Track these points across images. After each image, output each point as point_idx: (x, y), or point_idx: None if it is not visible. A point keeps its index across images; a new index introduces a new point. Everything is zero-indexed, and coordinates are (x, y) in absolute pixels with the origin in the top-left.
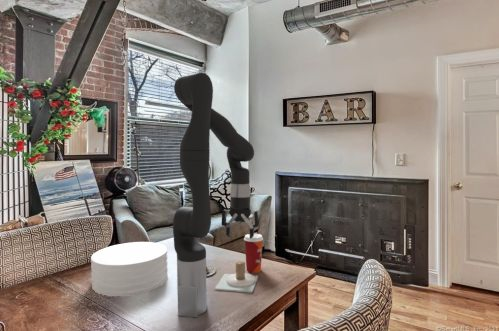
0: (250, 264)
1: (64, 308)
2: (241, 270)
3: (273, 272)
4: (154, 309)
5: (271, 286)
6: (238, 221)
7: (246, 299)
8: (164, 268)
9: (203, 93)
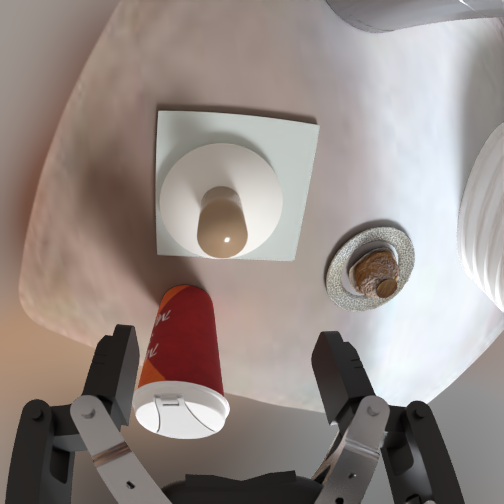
0: (192, 305)
1: None
2: (213, 202)
3: (115, 295)
4: (457, 23)
5: (95, 179)
6: (258, 479)
7: (177, 53)
8: (492, 209)
9: None
